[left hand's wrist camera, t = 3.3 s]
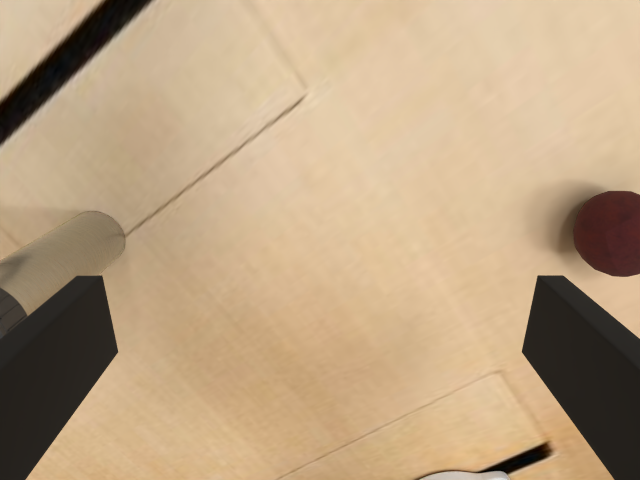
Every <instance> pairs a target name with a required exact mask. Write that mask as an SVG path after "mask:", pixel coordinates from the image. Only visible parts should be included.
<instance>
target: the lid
mask: <svg viewBox="0 0 640 480" xmlns="http://www.w3.org/2000/svg"><path fill="white" fill-rule="evenodd" d="M27 316H28V315H27V313H26V311H25V310H24V308H23V307H22V306H21V304H20V303H19V302H18V301H17V300H16V299H15V298H14V297H13V296H12V295H10V294H9V293H8V292H6V291H5V290H3V289H2V288H0V339H1V338H2V337H3V336H4V335H6V334H7V333H8V332H9V331H11V330H12V329H13V328H14V327H15V326H17V325H18V324H19V323H20V322H21V321H23V320H24V319H25V318H26V317H27Z"/></svg>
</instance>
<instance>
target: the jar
mask: <svg viewBox="0 0 640 480" xmlns="http://www.w3.org/2000/svg"><path fill="white" fill-rule="evenodd" d="M124 246H125V237H124V233H123V231H122V229H121V227H120V226H119V224H118V223H117V222H116V221H115V220H114V219H112V218H111V217H110V216H108V215H106V214H103V213H100V212H95V211H89V212H84V213H81V214H79V215H78V216H76V217H74V218H72V219H71V220H69V221H67V222H66V223H64V224H62V225H60V226H59V227H57V228H55V229H54V230H52V231H50V232H48V233H47V234H45V235H43V236H42V237H40V238H38V239H36V240H35V241H33V242H31V243H30V244H28V245H26V246H24V247H23V248H21V249H19V250H17V251H16V252H14V253H12V254H11V255H9V256H7V257H5V258H4V259H2V260H0V288H2V289H3V290H5V291H6V292H8V293H9V294H10V295H12V296H13V297H14V298H15V299H16V300H17V301H18V302H19V303H20V304H21V306H22V307H23V308H24V310H25V311H26V313H27V315H28V316H29V315H30V314H31V313H32V312H33V311H35V310H36V309H37V308H38V307H40V306H41V305H42V304H43V303H44V302H46V301H47V300H48V299H49V298H50V297H52V296H53V295H54V294H55V293H56V292H58V291H59V290H60V289H61V288H62V287H64V286H65V285H66V284H67V283H69V282H70V281H71V280H72V279H73V278H75V277H76V276H98V275H99V274H100V273H101V272H102V271H103V270H104V269H105V268H107V267H108V266H109V265H110V264H111V263H112V262H113V261H114V260H115V259H116V258H118V257H119V256H120V255H121V253H122V252H123V250H124Z"/></svg>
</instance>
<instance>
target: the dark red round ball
mask: <svg viewBox="0 0 640 480" xmlns="http://www.w3.org/2000/svg"><path fill="white" fill-rule="evenodd" d="M573 234H574V245H575V247H576V249H577V251H578V252H579V254H580V255H581V257H582V258H583V259H584V260H585V261H586V262H587V263H588V264H589V265H590V266H592V267H593V268H594V269H595V270H598V271H601V272H603V273H606V274H609V275H611V276H619V277H628V276H633V275H637V274H640V195H639V194H636V193H634V192H631V191H608V192H605V193H602V194H599V195H596V196H594V197H592V198H591V199H590V200H589V201H588V202H586V203H585V204H584V205H583V207H582V208H581V210H580V211H579V213H578V216H577V219H576V222H575V226H574V230H573Z"/></svg>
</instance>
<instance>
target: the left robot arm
mask: <svg viewBox="0 0 640 480" xmlns="http://www.w3.org/2000/svg"><path fill="white" fill-rule="evenodd" d="M117 353H118V349H117V344H116V339H115V334H114V329H113V325H112V320H111V315H110V310H109V306H108V301H107V296H106V291H105V286H104V282H103V277H102V276H76V277H75V278H73V279H72V280H71V281H70V282H69V283H67V284H66V285H65V286H64V287H62V288H61V289H60V290H59V291H58V292H56V293H55V294H54V295H53V296H52V297H50V298H49V299H48V300H47V301H46V302H44V303H43V304H42V305H41V306H40V307H38V308H37V309H36V310H35V311H33V312H32V313H31V314H30V315H29V316H27V317H26V318H25V319H24V320H23V321H21V322H20V323H19V324H18V325H17V326H15V327H14V328H13V329H12V330H11V331H9V332H8V333H7V334H6V335H4V336H3V337H2V338H1V339H0V480H25V479H26V478H27V477H28V475H29V474H30V473H31V471H32V470H33V468H34V467H35V466H36V464H37V463H38V462H39V460H40V459H41V457H42V456H43V455H44V453H45V452H46V451H47V449H48V448H49V446H50V445H51V444H52V442H53V441H54V440H55V438H56V437H57V435H58V434H59V433H60V431H61V430H62V429H63V427H64V426H65V424H66V423H67V422H68V420H69V419H70V418H71V416H72V415H73V413H74V412H75V411H76V409H77V408H78V407H79V405H80V404H81V402H82V401H83V400H84V398H85V397H86V396H87V394H88V393H89V391H90V390H91V389H92V387H93V386H94V385H95V383H96V382H97V380H98V379H99V378H100V376H101V375H102V374H103V372H104V371H105V369H106V368H107V367H108V365H109V364H110V363H111V361H112V360H113V358H114V357H115V356H116V354H117ZM522 353H523V354H524V356H525V357H526V358H527V360H528V361H529V363H530V364H531V365H532V367H533V368H534V369H535V371H536V372H537V374H538V375H539V376H540V378H541V379H542V380H543V382H544V383H545V385H546V386H547V387H548V389H549V390H550V391H551V393H552V394H553V396H554V397H555V398H556V400H557V401H558V402H559V404H560V405H561V407H562V408H563V409H564V411H565V412H566V413H567V415H568V416H569V418H570V419H571V420H572V422H573V423H574V424H575V426H576V427H577V429H578V430H579V431H580V433H581V434H582V435H583V437H584V438H585V440H586V441H587V442H588V444H589V445H590V446H591V448H592V449H593V451H594V452H595V453H596V455H597V456H598V457H599V459H600V460H601V462H602V463H603V464H604V466H605V467H606V468H607V470H608V471H609V473H610V474H611V475H612V477H613V478H614V479H615V480H640V339H639V338H638V337H637V336H636V335H634V334H633V333H632V332H631V331H629V330H628V329H627V328H626V327H625V326H623V325H622V324H621V323H620V322H619V321H617V320H616V319H615V318H614V317H613V316H611V315H610V314H609V313H608V312H607V311H605V310H604V309H603V308H602V307H600V306H599V305H598V304H597V303H596V302H594V301H593V300H592V299H591V298H590V297H588V296H587V295H586V294H585V293H584V292H582V291H581V290H580V289H579V288H578V287H576V286H575V285H574V284H573V283H571V282H570V281H569V280H568V279H567V278H565V277H564V276H538V277H537V282H536V286H535V291H534V296H533V301H532V305H531V310H530V315H529V320H528V325H527V329H526V334H525V339H524V344H523V349H522Z"/></svg>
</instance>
